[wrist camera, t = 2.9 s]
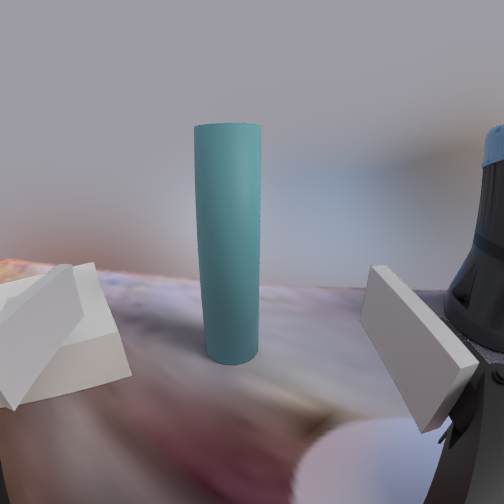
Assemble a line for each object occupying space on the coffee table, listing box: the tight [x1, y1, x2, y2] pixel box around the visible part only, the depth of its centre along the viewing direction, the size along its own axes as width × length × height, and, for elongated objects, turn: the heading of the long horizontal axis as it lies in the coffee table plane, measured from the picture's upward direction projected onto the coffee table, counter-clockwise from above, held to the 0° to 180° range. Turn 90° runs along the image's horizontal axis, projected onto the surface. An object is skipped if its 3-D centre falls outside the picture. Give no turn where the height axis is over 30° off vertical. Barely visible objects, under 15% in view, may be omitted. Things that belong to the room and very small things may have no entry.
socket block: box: [0, 262, 132, 408], centre depth 21 cm, size 16×16×4 cm
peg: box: [194, 123, 261, 365], centre depth 21 cm, size 4×4×18 cm
